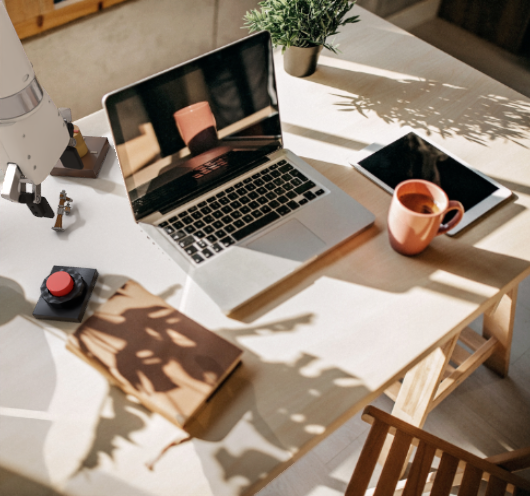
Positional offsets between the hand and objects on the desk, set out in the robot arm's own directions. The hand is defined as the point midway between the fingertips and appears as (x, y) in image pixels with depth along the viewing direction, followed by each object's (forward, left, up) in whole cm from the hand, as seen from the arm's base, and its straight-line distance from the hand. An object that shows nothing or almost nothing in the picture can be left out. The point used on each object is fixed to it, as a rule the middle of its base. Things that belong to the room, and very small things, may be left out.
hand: (60, 190), depth 73 cm
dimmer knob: (-13, +27, -19) cm, 35 cm away
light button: (-4, -6, -18) cm, 20 cm away
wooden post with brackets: (-11, +11, -21) cm, 27 cm away
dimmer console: (-13, +27, -21) cm, 37 cm away
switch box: (-4, -6, -21) cm, 22 cm away
